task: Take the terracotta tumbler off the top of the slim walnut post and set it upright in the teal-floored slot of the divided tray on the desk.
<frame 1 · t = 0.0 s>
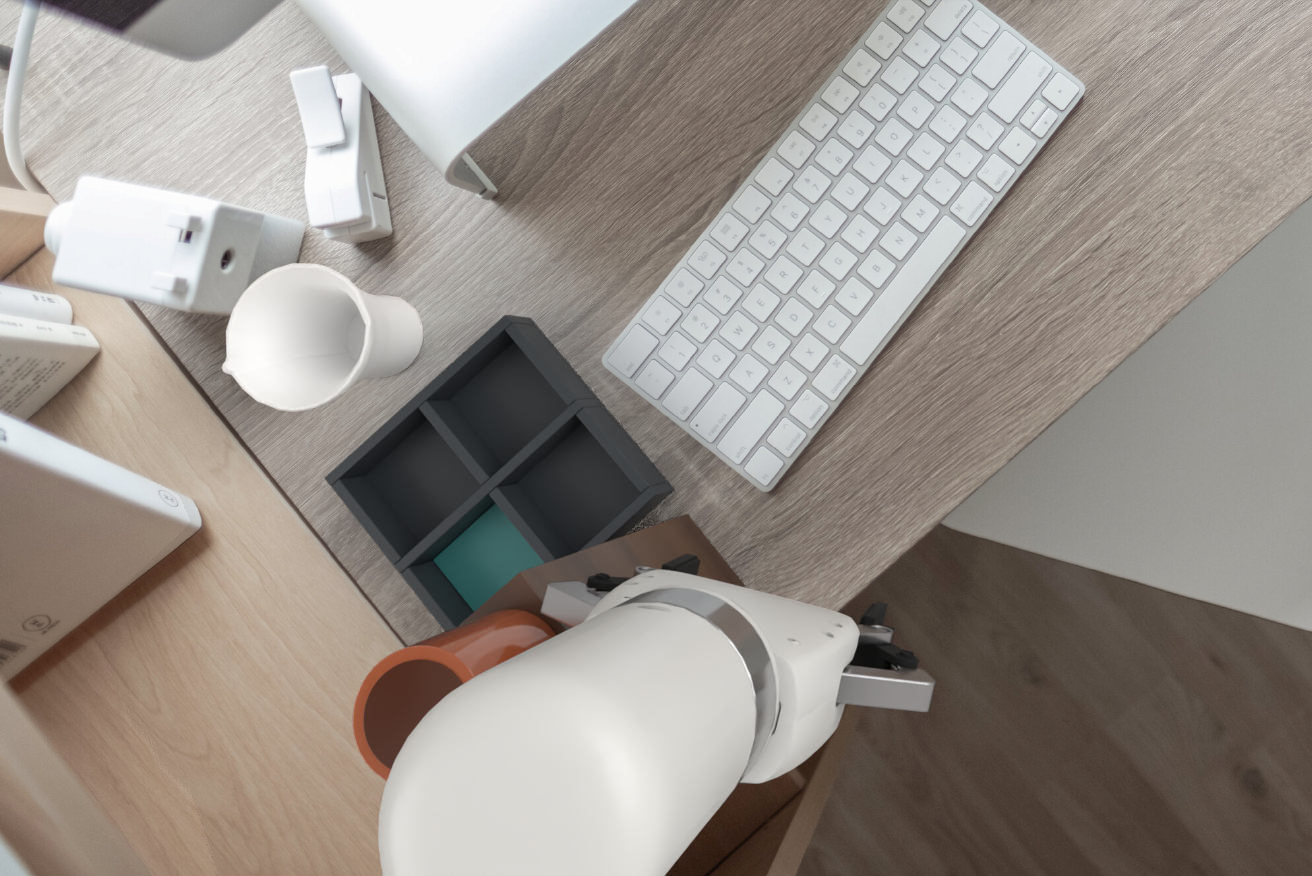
hand: (780, 609, 58), 18 cm above the table, tool pointing down, fingers open, 9 cm apart
cup: (387, 342, 79), on the table
tumbler: (508, 669, 52), point 24 cm above the table, touching stand
stand: (681, 580, 76), on the table
divided tray: (514, 481, 77), on the table
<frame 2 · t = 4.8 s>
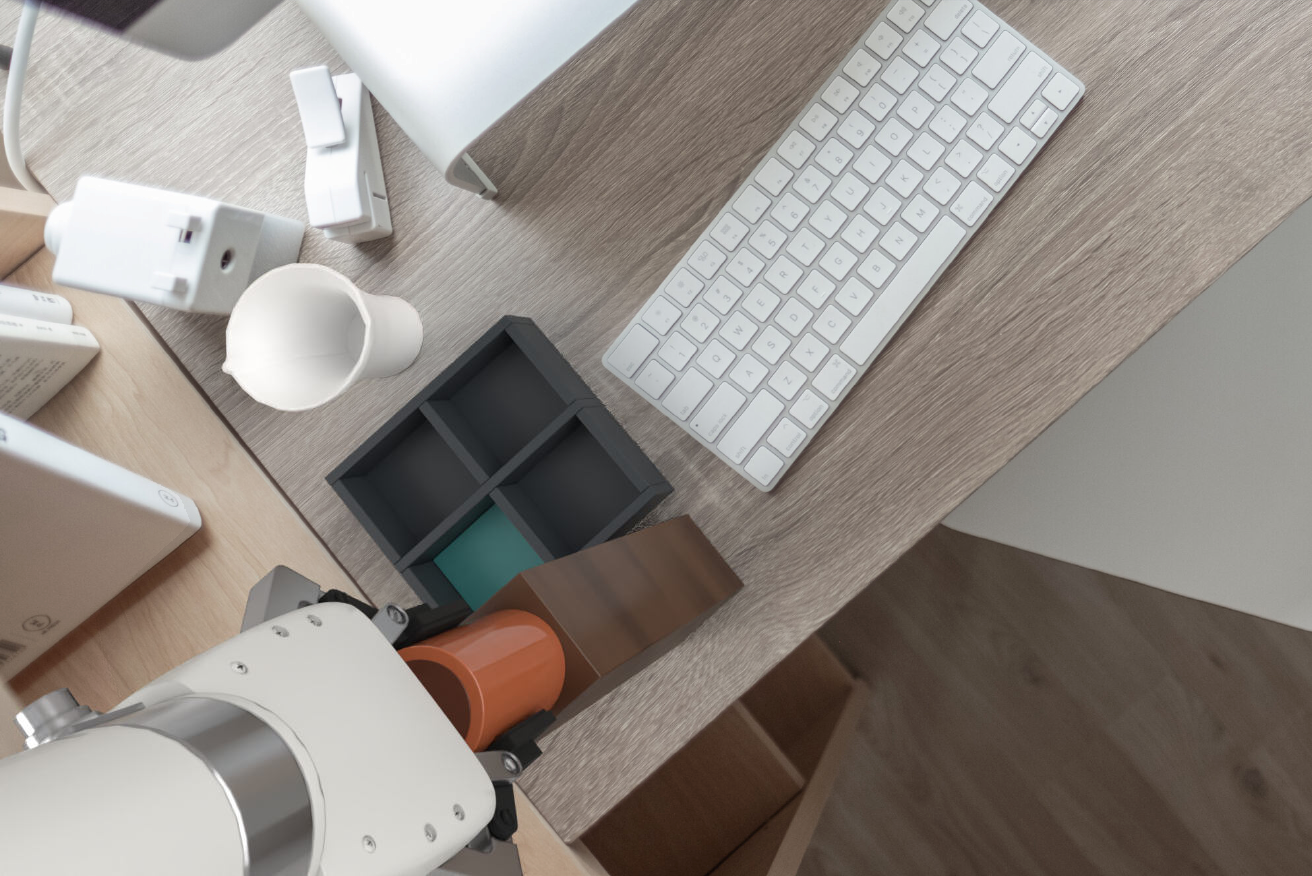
hand: (481, 683, 50), 26 cm above the table, tool pointing down, fingers closed on tumbler, 5 cm apart
tumbler: (508, 669, 52), point 24 cm above the table, touching gripper, stand
everything else where it was.
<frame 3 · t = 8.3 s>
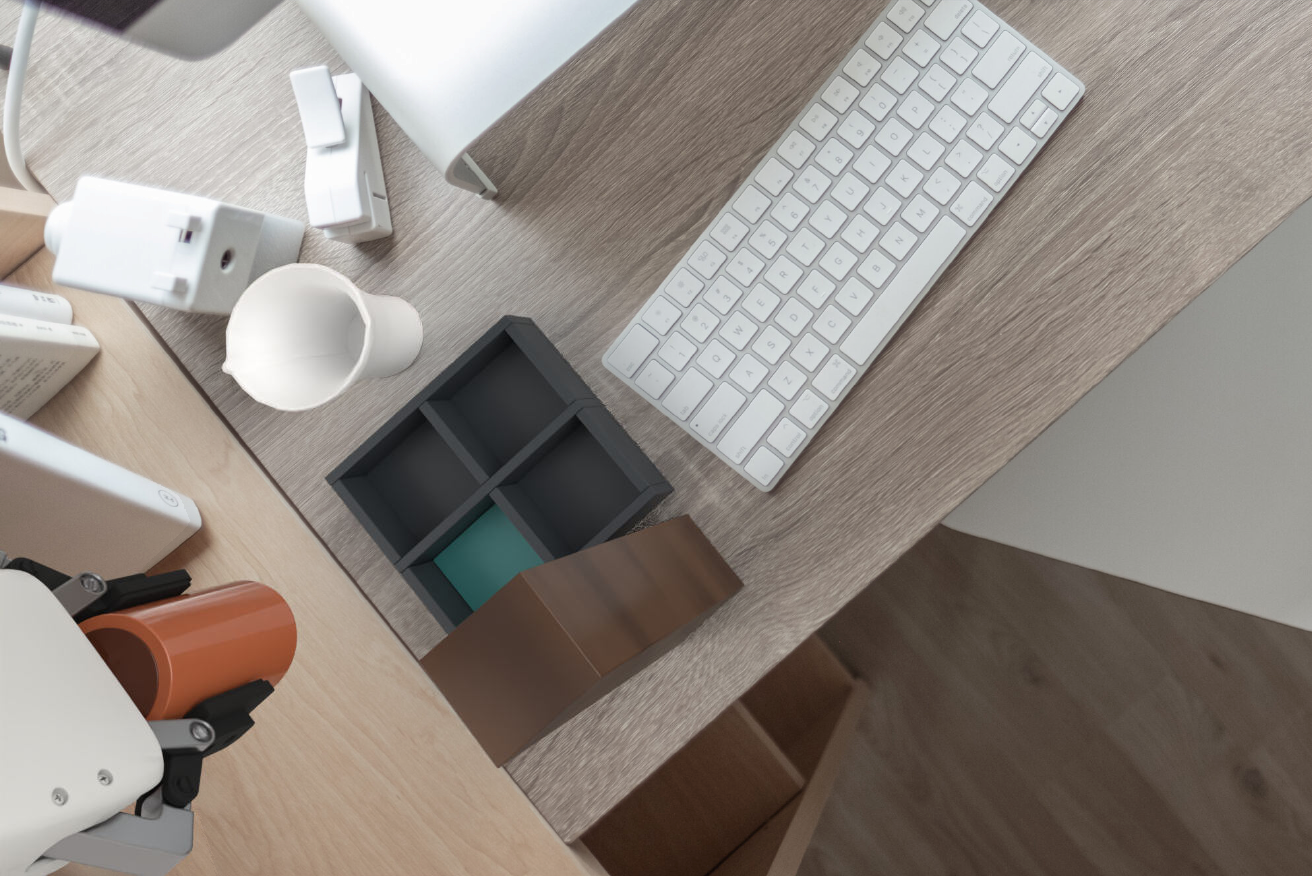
hand: (201, 653, 50), 27 cm above the table, tool pointing down, fingers closed on tumbler, 5 cm apart
tumbler: (241, 640, 52), point 25 cm above the table, touching gripper
everything else where it was.
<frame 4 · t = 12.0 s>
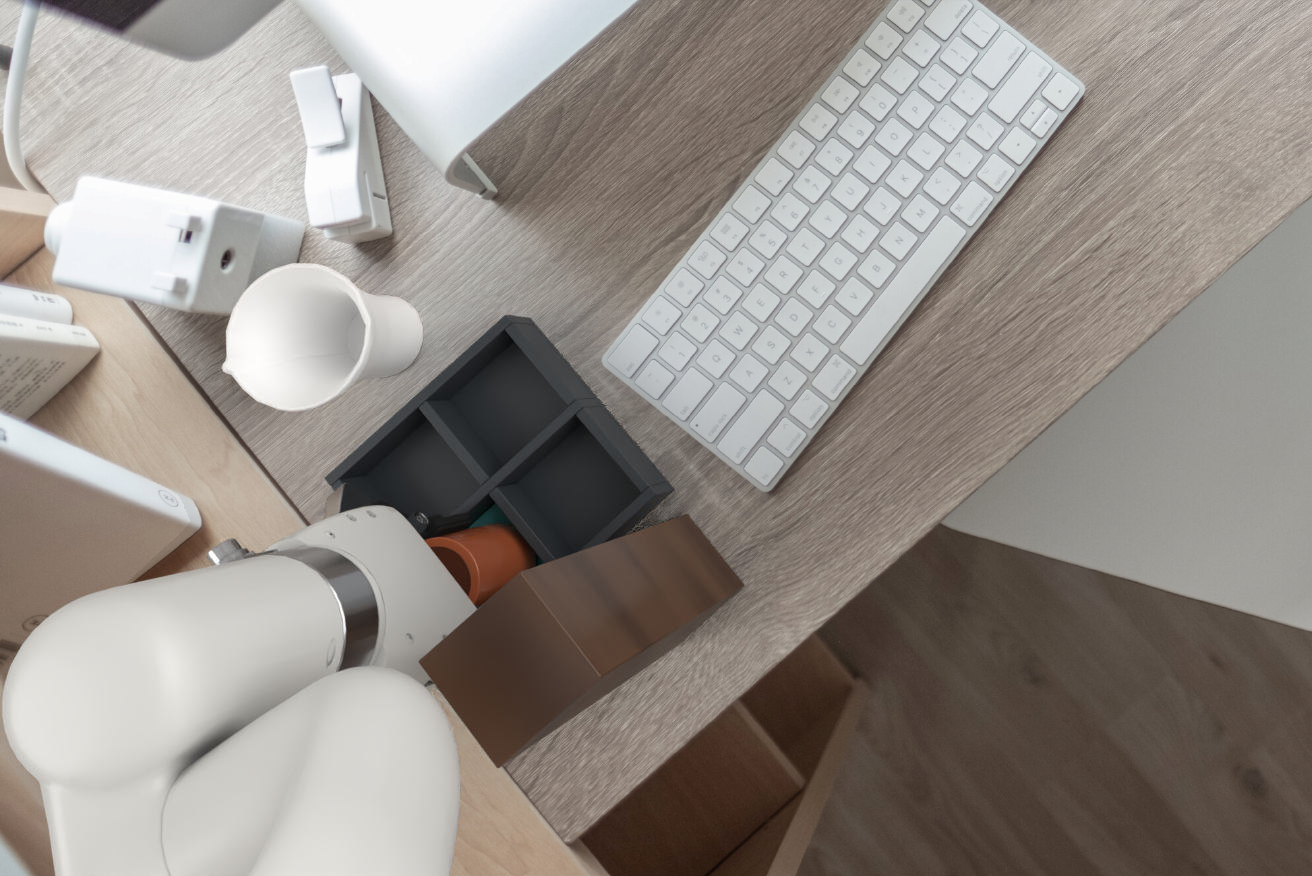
hand: (478, 570, 73), 4 cm above the table, tool pointing down, fingers closed on tumbler, 5 cm apart
tumbler: (497, 563, 75), point 1 cm above the table, touching gripper
everything else where it was.
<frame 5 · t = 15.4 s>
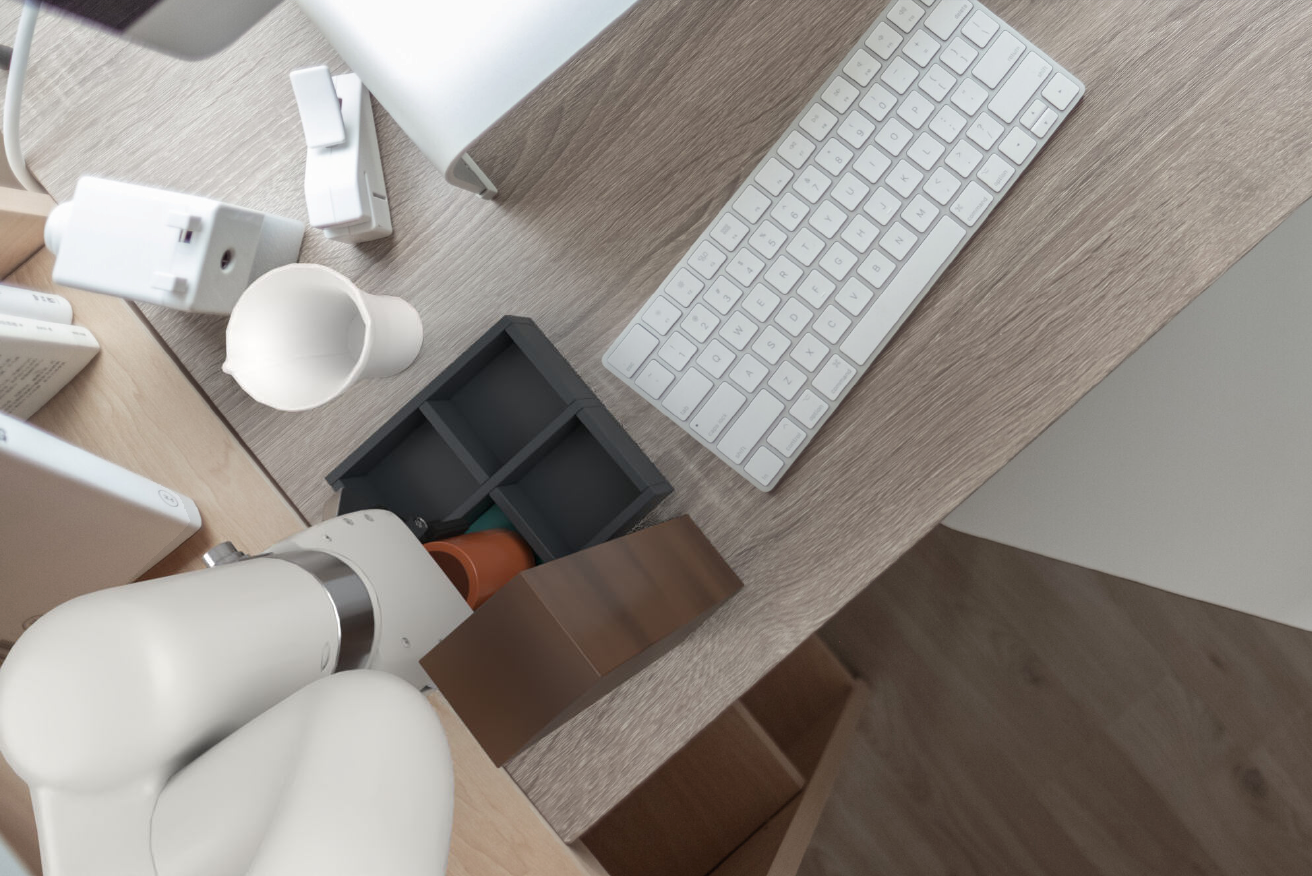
hand: (477, 575, 73), 4 cm above the table, tool pointing down, fingers closed on tumbler, 5 cm apart
tumbler: (496, 568, 75), point 2 cm above the table, touching gripper
everything else where it was.
when the fingers open (4 cm above the table, at t = 18.6 s): tumbler drops 1 cm, resting on divided tray.
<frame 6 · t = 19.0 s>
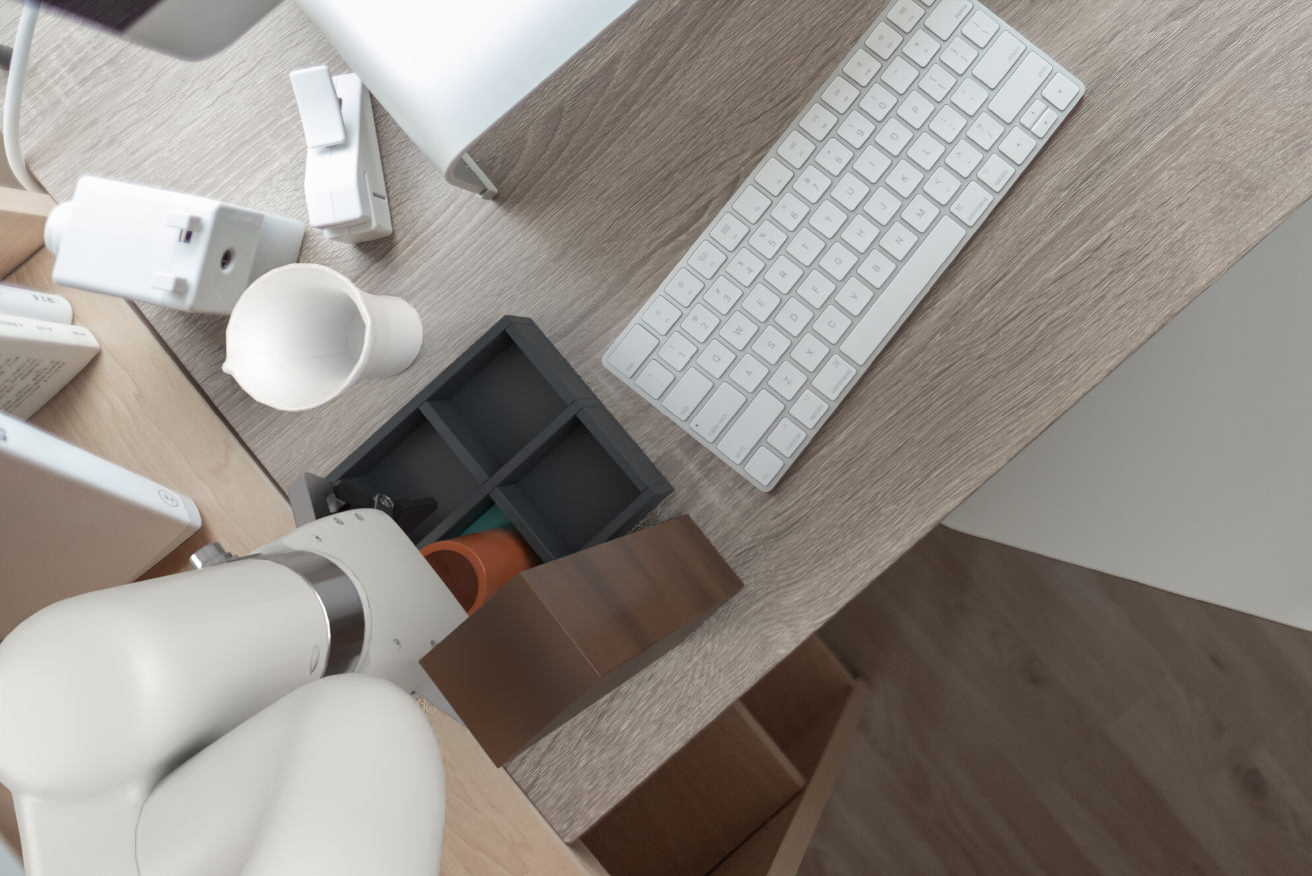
hand: (463, 576, 71), 6 cm above the table, tool pointing down, fingers open, 8 cm apart
tumbler: (503, 566, 76), point 1 cm above the table, touching divided tray
everything else where it was.
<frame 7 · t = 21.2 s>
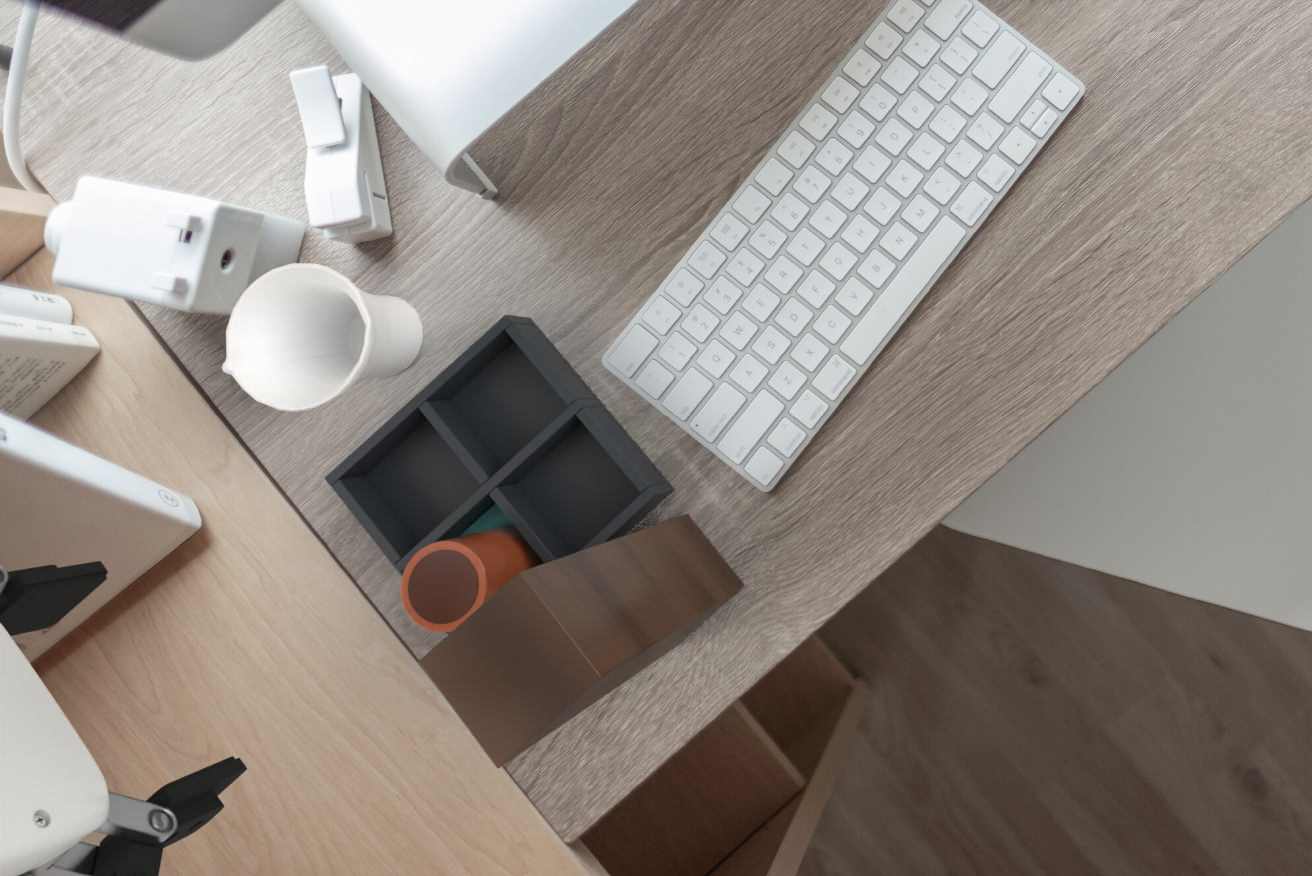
hand: (145, 689, 46), 31 cm above the table, tool pointing down, fingers open, 9 cm apart
nothing on the table moved.
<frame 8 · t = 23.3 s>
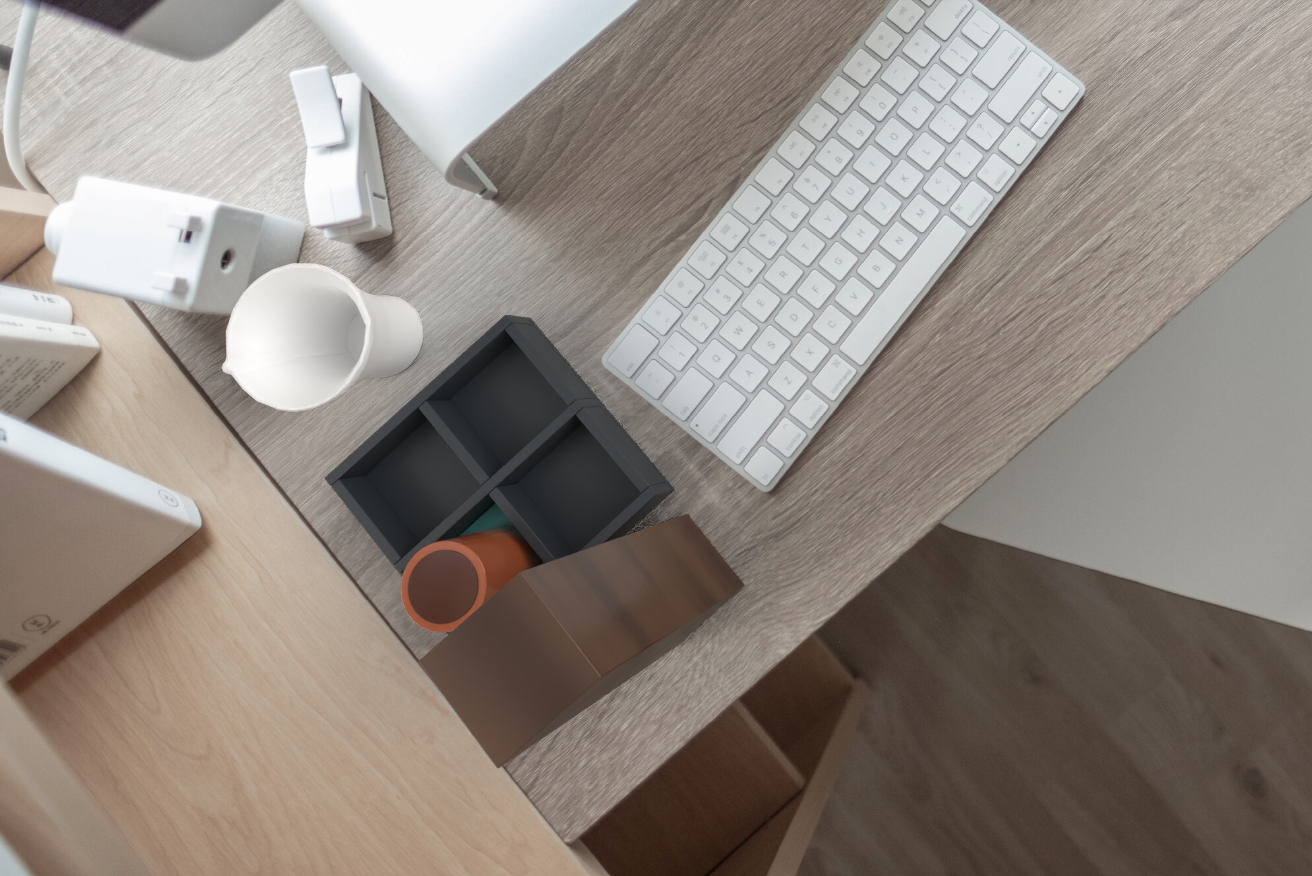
nothing on the table moved.
at the end: tumbler 0.3 cm from the target spot in the divided tray, point 0.8 cm above the divided tray's base; tumbler tilted 0° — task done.
